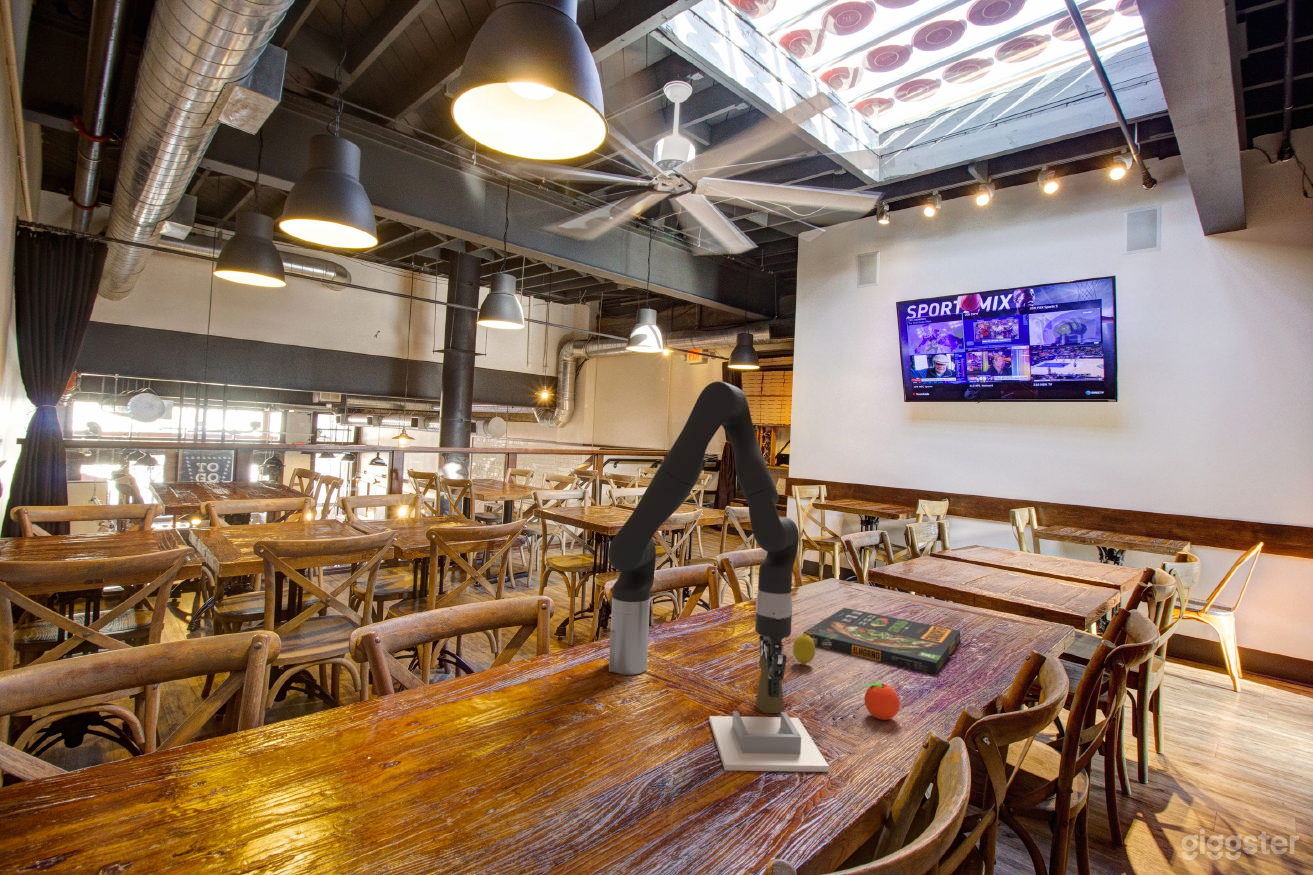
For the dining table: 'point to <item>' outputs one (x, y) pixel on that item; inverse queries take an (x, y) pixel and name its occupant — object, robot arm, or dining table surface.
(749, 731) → the U-rest
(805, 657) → the lemon
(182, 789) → the dining table surface
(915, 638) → the pizza box
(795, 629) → the dining table surface
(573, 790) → the dining table surface
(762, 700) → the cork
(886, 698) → the clementine
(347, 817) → the dining table surface
